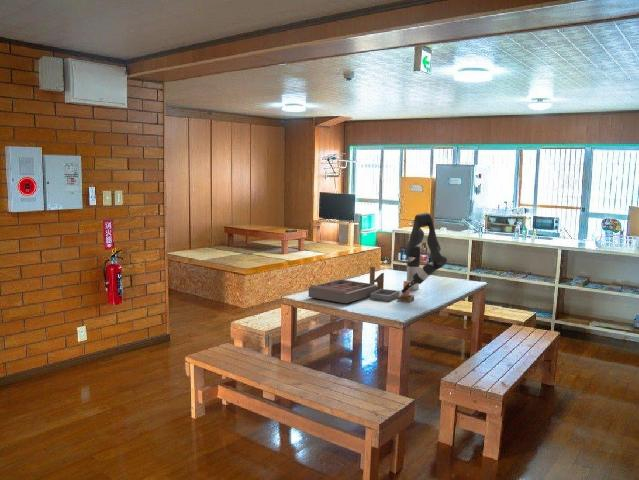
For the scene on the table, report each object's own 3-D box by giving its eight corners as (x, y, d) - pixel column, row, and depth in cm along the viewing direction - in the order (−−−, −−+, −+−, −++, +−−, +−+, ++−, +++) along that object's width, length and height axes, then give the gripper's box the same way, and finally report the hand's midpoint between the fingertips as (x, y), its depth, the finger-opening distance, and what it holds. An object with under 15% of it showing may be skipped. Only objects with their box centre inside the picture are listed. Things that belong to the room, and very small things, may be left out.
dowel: (404, 299, 363) (404, 280, 362) (409, 300, 361) (410, 281, 360) (402, 300, 360) (402, 281, 358) (407, 301, 358) (408, 282, 356)
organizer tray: (377, 295, 375) (378, 282, 374) (346, 305, 343) (346, 290, 341) (340, 290, 393) (340, 276, 392) (306, 298, 361) (307, 284, 360)
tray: (380, 294, 379) (381, 288, 379) (399, 296, 373) (399, 290, 373) (370, 299, 362) (370, 293, 361) (389, 301, 355) (389, 296, 355)
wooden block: (381, 292, 385) (381, 268, 383) (368, 290, 391) (368, 266, 389) (383, 291, 388) (384, 267, 386) (370, 290, 394) (371, 265, 392)
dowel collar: (401, 298, 366) (402, 294, 366) (414, 300, 362) (414, 295, 362) (397, 300, 359) (397, 296, 358) (410, 302, 355) (410, 298, 354)
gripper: (420, 269, 361) (403, 285, 368) (414, 272, 349) (396, 288, 355) (428, 278, 359) (410, 293, 366) (422, 281, 347) (403, 297, 354)
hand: (403, 291), depth 361 cm, fingers open, 4 cm apart
